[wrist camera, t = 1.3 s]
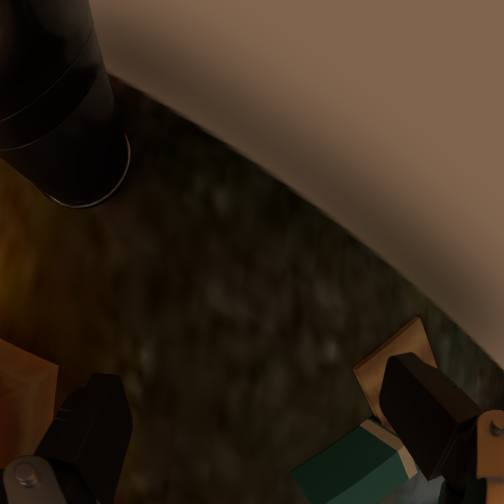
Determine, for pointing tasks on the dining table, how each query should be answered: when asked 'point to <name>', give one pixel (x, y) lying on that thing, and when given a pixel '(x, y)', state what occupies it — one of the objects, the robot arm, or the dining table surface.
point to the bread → (24, 401)
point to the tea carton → (357, 468)
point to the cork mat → (375, 363)
